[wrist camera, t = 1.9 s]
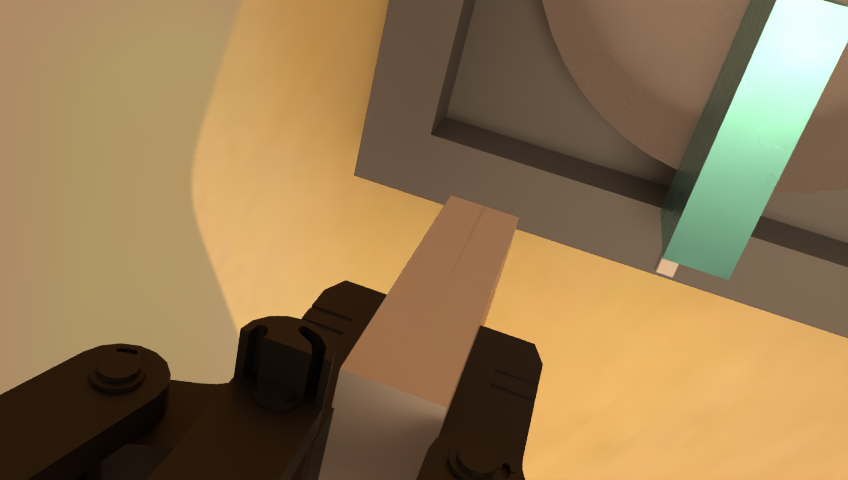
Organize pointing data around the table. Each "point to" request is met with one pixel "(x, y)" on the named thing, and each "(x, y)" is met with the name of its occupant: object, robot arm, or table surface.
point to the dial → (717, 104)
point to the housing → (567, 158)
